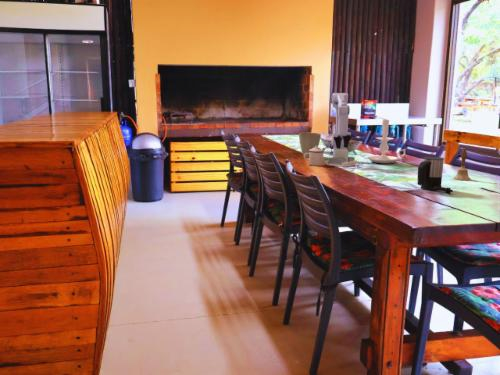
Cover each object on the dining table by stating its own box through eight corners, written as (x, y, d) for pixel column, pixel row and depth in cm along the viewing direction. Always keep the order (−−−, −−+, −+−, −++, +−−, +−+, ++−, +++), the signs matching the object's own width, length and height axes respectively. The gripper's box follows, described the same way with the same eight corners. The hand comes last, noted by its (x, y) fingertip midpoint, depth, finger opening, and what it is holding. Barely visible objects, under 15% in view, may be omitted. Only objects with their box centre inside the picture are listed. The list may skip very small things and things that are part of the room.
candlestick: (411, 165, 282) (415, 119, 276) (372, 165, 281) (375, 119, 275) (399, 160, 302) (402, 117, 296) (362, 160, 301) (364, 117, 295)
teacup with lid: (322, 163, 286) (323, 145, 284) (323, 166, 277) (324, 146, 275) (303, 163, 287) (304, 144, 285) (303, 165, 278) (304, 146, 276)
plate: (337, 162, 286) (337, 149, 284) (347, 163, 281) (348, 150, 279) (335, 162, 285) (335, 149, 283) (346, 164, 279) (346, 150, 277)
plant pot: (296, 158, 310) (296, 134, 307) (300, 155, 324) (301, 132, 321) (318, 159, 306) (319, 135, 302) (321, 156, 320) (322, 133, 316)
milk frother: (424, 186, 221) (427, 155, 218) (459, 190, 211) (462, 158, 208) (413, 190, 210) (416, 158, 207) (449, 196, 200) (452, 162, 197)
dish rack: (339, 162, 292) (340, 155, 291) (356, 164, 283) (356, 157, 282) (326, 164, 282) (326, 157, 282) (342, 167, 274) (343, 159, 273)
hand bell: (460, 181, 233) (464, 150, 229) (449, 178, 240) (452, 148, 237) (474, 180, 235) (477, 149, 232) (463, 177, 243) (466, 147, 239)
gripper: (341, 126, 270) (340, 149, 273) (355, 125, 280) (354, 147, 283) (331, 126, 275) (330, 148, 278) (345, 124, 285) (344, 146, 288)
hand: (342, 148), depth 281 cm, fingers open, 7 cm apart
